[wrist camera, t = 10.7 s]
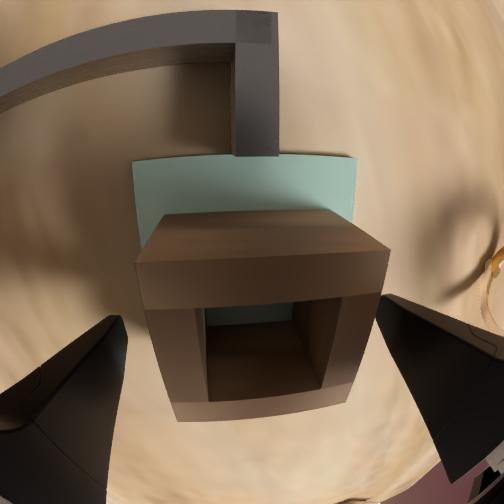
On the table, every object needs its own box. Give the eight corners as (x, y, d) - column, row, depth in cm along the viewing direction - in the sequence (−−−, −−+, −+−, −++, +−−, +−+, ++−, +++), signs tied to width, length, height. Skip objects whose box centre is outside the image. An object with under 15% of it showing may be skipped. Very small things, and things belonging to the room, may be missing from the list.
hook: (-33, 198, 7) (-85, 224, 4) (-35, 103, 5) (-88, 108, 2) (265, 153, 9) (301, 162, 5) (265, 26, 7) (295, -30, 4)
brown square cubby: (182, 347, 11) (177, 421, 8) (164, 214, 9) (134, 262, 6) (314, 337, 12) (345, 402, 9) (330, 209, 10) (390, 249, 6)
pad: (170, 373, 12) (170, 378, 12) (134, 161, 9) (131, 161, 8) (325, 359, 13) (327, 363, 13) (353, 157, 10) (357, 158, 9)
